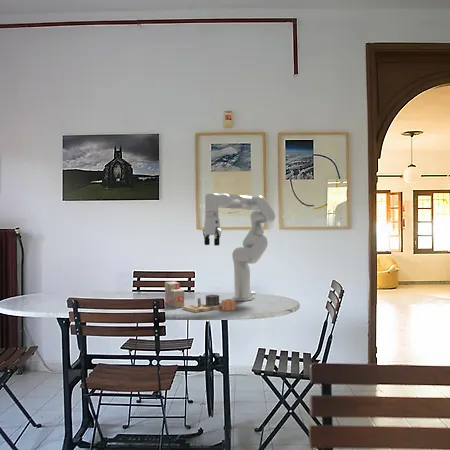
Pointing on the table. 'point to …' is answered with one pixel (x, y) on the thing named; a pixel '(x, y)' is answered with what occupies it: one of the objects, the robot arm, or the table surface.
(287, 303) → the table surface
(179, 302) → the stack of blocks
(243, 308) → the table surface
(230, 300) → the loose gear
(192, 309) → the gear board
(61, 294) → the table surface
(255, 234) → the robot arm
